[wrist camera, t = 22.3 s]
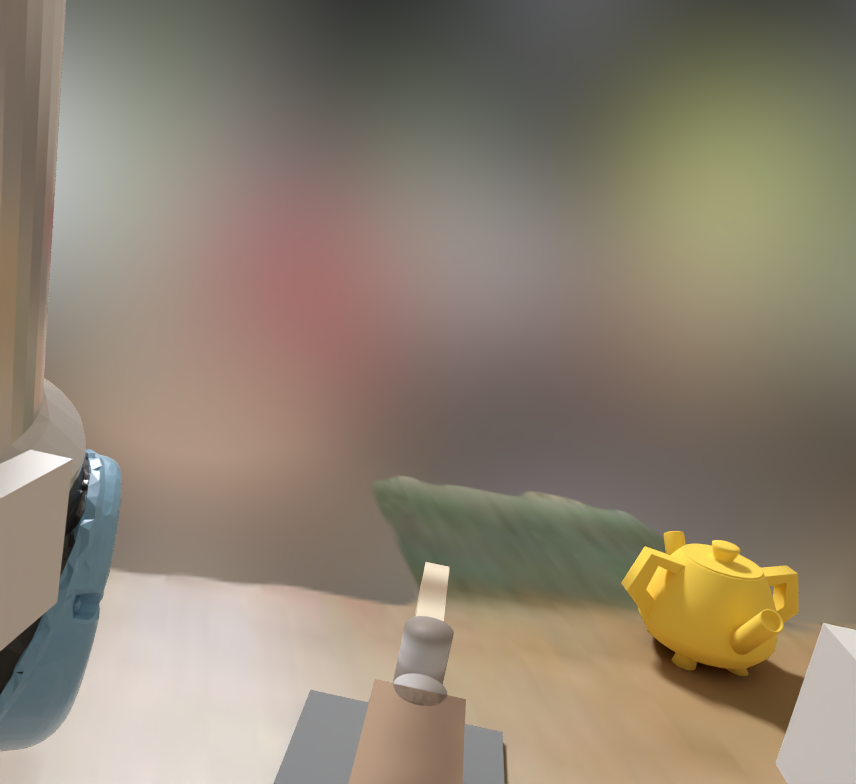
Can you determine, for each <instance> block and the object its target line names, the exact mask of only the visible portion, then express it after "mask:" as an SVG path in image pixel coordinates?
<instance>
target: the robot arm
mask: <svg viewBox="0 0 856 784" xmlns="http://www.w3.org/2000/svg"><path fill="white" fill-rule="evenodd" d="M65 7H66V0H0V751H9V750H18V749H24V748H28V747H31V746H34V745H36V744H38V743H40V742H42V741H43V740H45V739H46V738H48V737H49V736H51V735H52V734H53V733H54V732H55V731H56V730H57V729H58V728H59V727H60V725H61V724H62V723H63V722H64V720H65V719H66V717H67V716H68V714H69V712H70V710H71V708H72V706H73V703H74V701H75V699H76V696H77V694H78V691H79V688H80V685H81V682H82V679H83V676H84V673H85V670H86V666H87V663H88V660H89V656H90V652H91V649H92V645H93V641H94V637H95V633H96V628H97V624H98V620H99V611H100V608H99V603H100V601H101V600H102V598H103V594H104V589H105V585H106V582H107V579H108V576H109V572H110V567H111V562H112V557H113V551H114V545H115V540H116V534H117V527H118V519H119V512H120V503H121V490H122V477H121V470H120V467H119V465H118V464H117V462H116V461H114V460H113V459H111V458H109V457H106V456H103V455H98V454H97V453H96V452H94V451H93V450H91V449H86V450H85V445H86V439H85V434H84V429H83V424H82V421H81V418H80V415H79V413H78V412H77V410H76V409H75V407H74V405H73V404H72V402H71V401H70V400H69V399H68V398H67V397H66V396H65V395H64V394H63V392H61V391H60V390H59V389H58V388H57V387H56V386H54V385H53V384H52V383H51V382H49V381H48V380H46V379H44V365H45V347H46V330H47V314H48V297H49V280H50V279H49V278H50V262H51V246H52V229H53V212H54V195H55V177H56V161H57V143H58V127H59V110H60V92H61V76H62V58H63V42H64V25H65ZM776 765H777V767H778V768H779V770H780V772H781V774H782V776H783V777H784V779H785V781H786V783H787V784H856V630H853V629H848V628H844V627H839V626H835V625H830V624H825V623H823V625H822V628H821V631H820V634H819V637H818V640H817V643H816V646H815V649H814V652H813V655H812V658H811V661H810V664H809V667H808V669H807V672H806V675H805V678H804V681H803V684H802V687H801V690H800V693H799V696H798V699H797V702H796V705H795V708H794V711H793V714H792V716H791V719H790V722H789V725H788V728H787V731H786V734H785V737H784V740H783V743H782V746H781V749H780V752H779V755H778V758H777V761H776Z"/></svg>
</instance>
